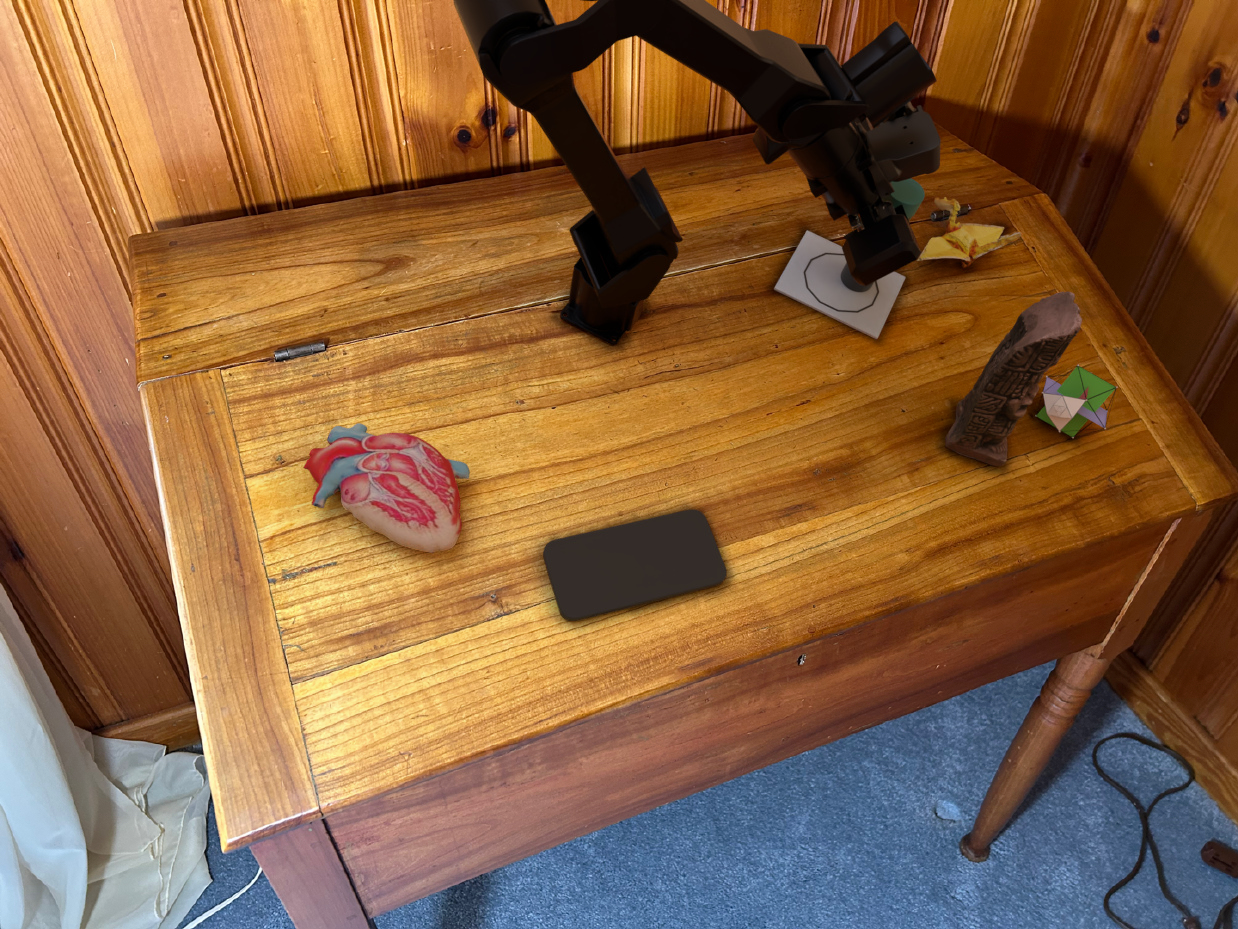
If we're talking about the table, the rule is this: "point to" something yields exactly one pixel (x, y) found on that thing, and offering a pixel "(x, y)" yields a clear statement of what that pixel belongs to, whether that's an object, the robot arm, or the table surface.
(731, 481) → the table surface
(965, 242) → the origami crane
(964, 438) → the statue
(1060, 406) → the geometric puzzle
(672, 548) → the phone
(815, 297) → the white rectangular board
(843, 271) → the dot marker
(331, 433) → the anatomical model
